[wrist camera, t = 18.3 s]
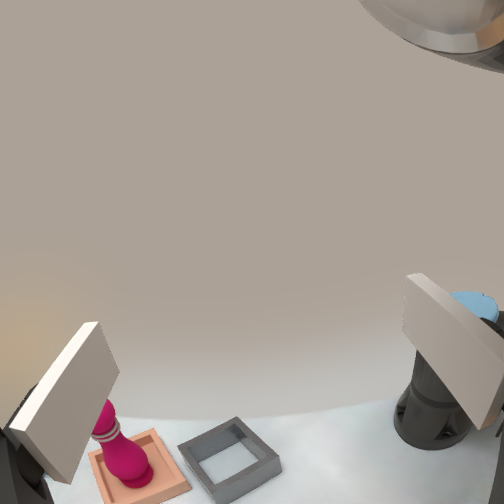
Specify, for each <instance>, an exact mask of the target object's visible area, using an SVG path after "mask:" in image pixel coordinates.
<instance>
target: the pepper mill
mask: <svg viewBox="0 0 504 504" xmlns="http://www.w3.org/2000/svg"><path fill="white" fill-rule="evenodd" d="M91 437H92V438H93V439H94V440H95V441H98V442H99V443H100V445H101V447H102V451H103V459H104V463H105V465H106V467H107V469H108V470H109V472H110V473H111V474H112V475H113V476H115V477H117V478H118V479H119V480H120V481H121V482H122V483H123V484H124V485H125V486H127V487H129V488H141V487H143V486H146V485H147V484H148V483H149V482H150V481H151V480H152V477H153V469H152V467H151V465H150V464H149V463H148V458H147V455H146V453H145V452H144V450H143V449H142V448H141V447H140V446H139V445H138V444H136V443H135V442H133V441H131V440H129V439H127V438H126V437H124V436H123V434H122V433H121V431H120V423H119V422H118V420H117V418H116V417H115V409H114V407H113V405H112V403H111V402H110V401H109V400H108V399H107V400H106V402H105V404H104V407H103V409H102V411H101V413H100V415H99V418H98V420H97V422H96V424H95V427H94V429H93V431H92V434H91Z"/></svg>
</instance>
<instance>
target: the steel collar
mask: <svg viewBox="0 0 504 504" xmlns="http://www.w3.org/2000/svg"><path fill="white" fill-rule="evenodd" d="M238 441H241V442H242V443H243V444H244V445H245V446H246V447H247V448H248V449H249V450H250V451H251V452H252V453H253V454H254V455H255V456H256V457H257V458H258V459H259V461H257V462H256V463H254V464H252V465H251V466H249V467H247V468H246V469H244V470H242V471H240V472H239V473H237V474H235V475H233V476H231V477H229V478H228V479H226V480H224V481H222V482H220V483H218V484H216V485H214V484H213V482H212V481H211V480H210V479H209V477H208V476H207V475H206V473H205V472H204V471H203V469H202V468H201V467H200V465H199V464H198V462H200V461H202V460H204V459H206V458H208V457H210V456H212V455H214V454H216V453H218V452H220V451H222V450H224V449H225V448H227V447H229V446H231V445H233V444H235V443H237V442H238ZM177 447H178V449H179V451H180V453H181V454H182V456H183V458H184V460H185V462H186V463H187V465H188V466H189V468H190V469H191V470H192V472H193V473H194V475H195V476H196V477H197V479H198V480H199V482H200V483H201V484H202V486H203V487H204V488H205V490H206V491H207V492H208V494H209V495H210V496H211V498H212V499H213V500H214V501H215V503H216V504H228V503H230V502H232V501H234V500H236V499H238V498H239V497H241V496H243V495H245V494H247V493H248V492H250V491H252V490H253V489H255V488H257V487H258V486H260V485H262V484H263V483H265V482H267V481H268V480H270V479H271V478H273V477H275V476H276V475H278V474H279V473H281V472H282V470H281V464H280V458H279V455H278V454H276V453H275V452H274V451H273V450H272V449H271V448H270V447H269V446H268V445H267V444H265V443H264V442H263V441H262V440H261V439H260V438H259V437H258V436H257V435H256V434H255V433H254V432H253V431H252V430H251V429H249V428H248V427H247V426H246V425H245V424H244V423H243V422H242V421H241V420H240V419H239V418H238V417H234V418H233V419H231V420H229V421H227V422H225V423H223V424H221V425H219V426H217V427H215V428H213V429H211V430H209V431H207V432H205V433H203V434H201V435H199V436H197V437H195V438H193V439H191V440H189V441H187V442H185V443H183V444H180V445H178V446H177Z"/></svg>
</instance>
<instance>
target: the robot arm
mask: <svg viewBox="0 0 504 504" xmlns="http://www.w3.org/2000/svg"><path fill="white" fill-rule="evenodd" d="M359 1H360V3H361V4H362V5H363V7H364V8H365V9H366V10H367V11H368V12H369V13H370V14H371V15H372V16H373V17H374V18H375V19H376V20H377V21H379V22H380V23H381V24H382V25H383V26H385V27H386V28H387V29H389V30H390V31H392V32H393V33H395V34H396V35H398V36H400V37H401V38H403V39H404V40H406V41H408V42H410V43H412V44H414V45H416V46H417V47H420V48H422V49H424V50H427V51H430V52H433V53H435V54H438V55H440V56H443V57H446V58H449V59H452V60H455V61H458V62H461V63H464V64H468V65H471V66H475V67H478V68H482V69H485V70H489V71H494V72H499V73H503V74H504V0H359ZM402 331H403V332H404V334H405V335H406V336H407V337H408V339H409V340H410V341H411V342H412V344H413V345H414V346H415V347H416V349H417V352H416V358H415V365H414V369H413V375H412V380H411V382H410V384H409V385H408V387H407V388H406V390H405V391H404V393H403V394H402V396H401V397H400V399H399V400H398V403H397V405H396V409H395V414H394V425H395V428H396V430H397V432H398V434H399V435H400V436H401V438H402V439H403V440H405V441H406V442H407V443H409V444H411V445H412V446H415V447H417V448H421V449H426V450H438V449H444V448H447V447H450V446H452V445H454V444H456V443H457V442H459V441H460V440H461V439H462V438H463V437H464V436H465V435H466V433H467V432H468V430H469V428H470V426H471V424H472V422H473V423H474V425H475V426H476V428H477V429H478V430H481V429H483V428H485V427H487V426H489V425H490V424H492V423H494V422H495V421H496V419H497V417H498V415H499V413H500V411H501V409H502V410H503V411H504V311H499V310H498V306H497V304H496V302H495V300H494V299H492V298H491V297H489V296H484V294H483V293H478V292H471V291H468V292H467V291H463V292H455V293H450V294H448V293H447V292H446V291H444V290H443V289H442V288H441V287H439V286H438V285H437V284H435V283H434V282H433V281H431V280H430V279H428V278H427V277H426V276H425V275H423V274H422V273H421V272H420V273H416V274H411V275H406V283H405V301H404V314H403V326H402ZM118 374H119V369H118V367H117V365H116V363H115V360H114V358H113V356H112V353H111V351H110V349H109V346H108V344H107V341H106V339H105V336H104V334H103V331H102V329H101V326H100V324H99V322H88V323H84V324H83V326H82V327H81V328H80V329H79V331H78V332H77V333H76V334H75V336H74V337H73V338H72V339H71V341H70V342H69V343H68V345H67V346H66V347H65V349H64V350H63V351H62V353H61V354H60V355H59V356H58V358H57V359H56V360H55V362H54V363H53V364H52V366H51V367H50V368H49V370H48V371H47V373H46V374H45V375H44V377H43V378H42V380H41V381H40V382H39V383H38V384H37V385H35V386H34V387H33V388H32V389H31V390H30V391H29V392H28V394H27V395H26V396H25V398H24V400H23V401H22V402H21V404H20V407H18V408H17V410H16V411H15V412H14V414H13V415H12V417H11V418H10V420H9V422H8V423H7V424H6V426H5V427H4V429H3V430H2V429H1V428H0V504H54V502H53V499H52V496H51V493H50V491H49V488H48V485H47V483H46V481H45V479H44V478H43V477H42V476H43V473H44V471H45V472H46V473H47V474H48V475H49V476H50V477H51V478H52V479H53V480H54V481H58V482H61V483H66V484H70V485H71V482H72V480H73V477H74V475H75V472H76V470H77V467H78V465H79V462H80V460H81V457H82V455H83V453H84V450H85V448H86V445H87V443H88V441H89V438H90V436H91V434H92V431H93V429H94V427H95V424H96V422H97V420H98V418H99V415H100V413H101V411H102V409H103V407H104V404H105V402H106V400H107V397H108V395H109V393H110V391H111V389H112V387H113V385H114V383H115V381H116V379H117V376H118ZM501 431H502V437H501V444H500V451H499V457H498V463H497V468H496V474H495V478H494V483H493V487H492V492H491V496H490V499H489V503H488V504H504V420H503V422H502V424H501V426H500V428H499V429H498V431H497V434H496V436H495V437H498V436H499V435H500V433H501Z"/></svg>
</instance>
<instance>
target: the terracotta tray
mask: <svg viewBox="0 0 504 504" xmlns="http://www.w3.org/2000/svg"><path fill="white" fill-rule="evenodd" d="M127 439H129V440H131V441H133V442H135V443H136V444H138V445H139V446H140V447H141V448H142V449H143V450H144V452H145V453H146V455H147V458H148V463H149V464H150V465H151V467H152V469H153V477H152V480H151V481H150V482H149V483H148V484H147V485H146V486H143V487H141V488H129V487H127V486H125V485H124V484H123V483H122V482H121V481H120V480H119V479H118V478H117V477H115V476H113V475H112V474H111V473H110V472H109V470H108V469H107V467H106V465H105V463H104V459H103V451H102V448H101V449H98V450H95V451H92V452H89V453H88V456H89V459H90V463H91V466H92V469H93V472H94V476H95V479H96V482H97V485H98V488H99V490H100V493H101V496H102V499H103V501H104V504H159V503H161V502H164V501H166V500H168V499H171V498H173V497H175V496H177V495H180V494H182V493H184V492H186V491H189V490H191V487H190V485H189V484H188V482H187V481H186V479H185V478H184V476H183V475H182V473H181V472H180V470H179V469H178V467H177V466H176V464H175V462H174V461H173V459H172V458H171V456H170V455H169V453H168V451H167V450H166V448H165V446H164V445H163V443H162V441H161V440H160V438H159V436H158V434H157V433H156V431H155V429H154V428H152V429H150V430H147V431H145V432H142V433H140V434H138V435H135V436H133V437H130V438H127Z"/></svg>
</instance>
